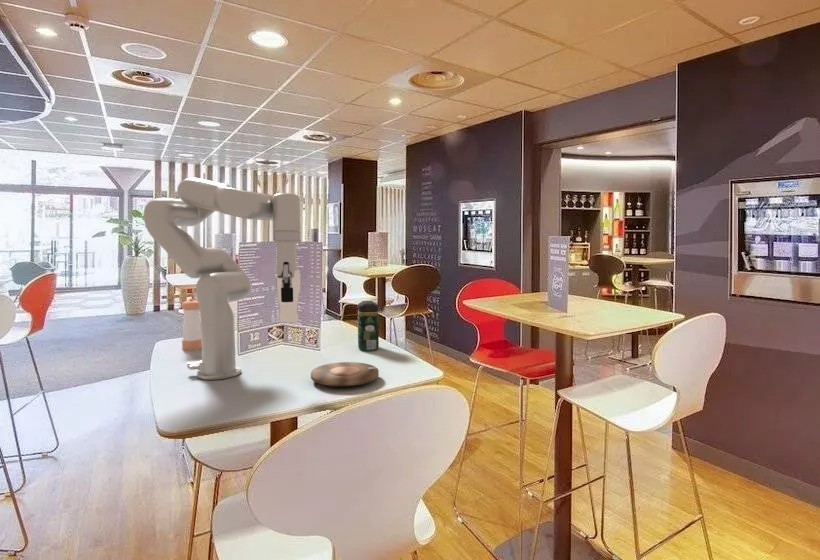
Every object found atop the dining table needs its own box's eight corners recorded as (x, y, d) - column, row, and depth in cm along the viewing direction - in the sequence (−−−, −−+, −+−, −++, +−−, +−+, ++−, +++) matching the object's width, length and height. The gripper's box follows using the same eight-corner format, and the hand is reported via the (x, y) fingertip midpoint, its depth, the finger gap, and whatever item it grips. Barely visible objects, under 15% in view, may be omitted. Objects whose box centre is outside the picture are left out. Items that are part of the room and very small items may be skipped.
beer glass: (294, 323, 126) (293, 270, 125) (271, 322, 127) (270, 269, 126) (305, 319, 133) (304, 268, 131) (283, 318, 134) (282, 268, 133)
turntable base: (321, 389, 127) (321, 384, 127) (321, 374, 140) (321, 370, 140) (371, 386, 129) (371, 381, 129) (366, 372, 143) (366, 367, 143)
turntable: (310, 387, 123) (310, 381, 123) (311, 367, 143) (311, 361, 142) (382, 383, 127) (382, 377, 127) (374, 364, 147) (374, 359, 146)
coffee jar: (357, 346, 178) (356, 299, 177) (377, 345, 180) (377, 299, 178) (358, 352, 169) (358, 303, 167) (379, 351, 170) (379, 302, 168)
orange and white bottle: (207, 347, 174) (205, 298, 172) (189, 351, 168) (187, 300, 166) (196, 345, 178) (194, 296, 176) (178, 348, 172) (176, 298, 170)
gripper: (276, 237, 136) (277, 296, 137) (269, 237, 119) (271, 304, 120) (301, 237, 137) (303, 296, 139) (299, 237, 120) (300, 304, 122)
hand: (288, 299), depth 129 cm, fingers closed on beer glass, 6 cm apart
